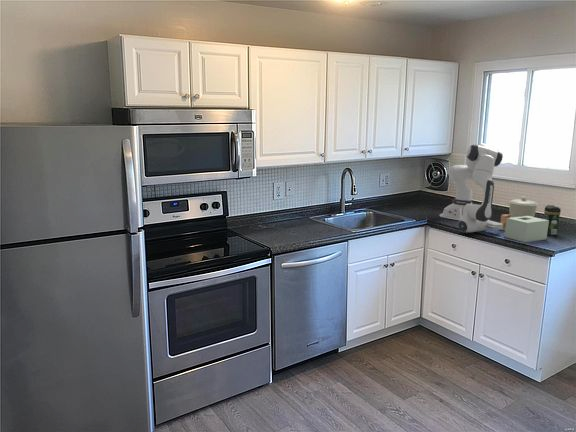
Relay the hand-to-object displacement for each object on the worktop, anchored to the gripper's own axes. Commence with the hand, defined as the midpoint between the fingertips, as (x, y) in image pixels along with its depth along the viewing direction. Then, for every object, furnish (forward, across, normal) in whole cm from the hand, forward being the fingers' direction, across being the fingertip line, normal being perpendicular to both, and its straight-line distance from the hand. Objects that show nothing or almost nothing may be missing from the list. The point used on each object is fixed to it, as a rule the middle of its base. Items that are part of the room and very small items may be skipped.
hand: (495, 222), depth 301 cm
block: (+9, 0, +6) cm, 11 cm away
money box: (+2, -21, +5) cm, 22 cm away
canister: (+28, +2, +6) cm, 29 cm away
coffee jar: (+28, -19, +6) cm, 34 cm away
